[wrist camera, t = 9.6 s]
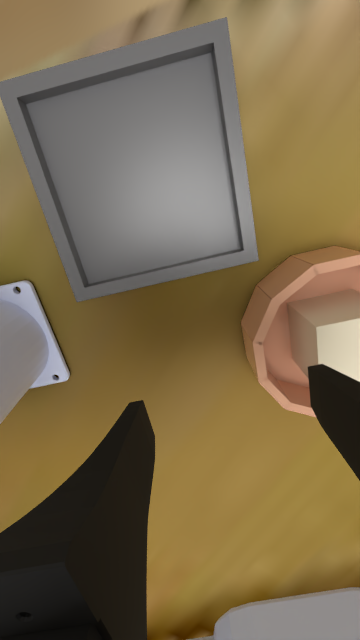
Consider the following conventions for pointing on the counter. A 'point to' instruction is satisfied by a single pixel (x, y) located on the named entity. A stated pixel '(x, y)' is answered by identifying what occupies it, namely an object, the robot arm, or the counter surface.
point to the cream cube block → (327, 332)
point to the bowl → (273, 324)
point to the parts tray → (139, 160)
